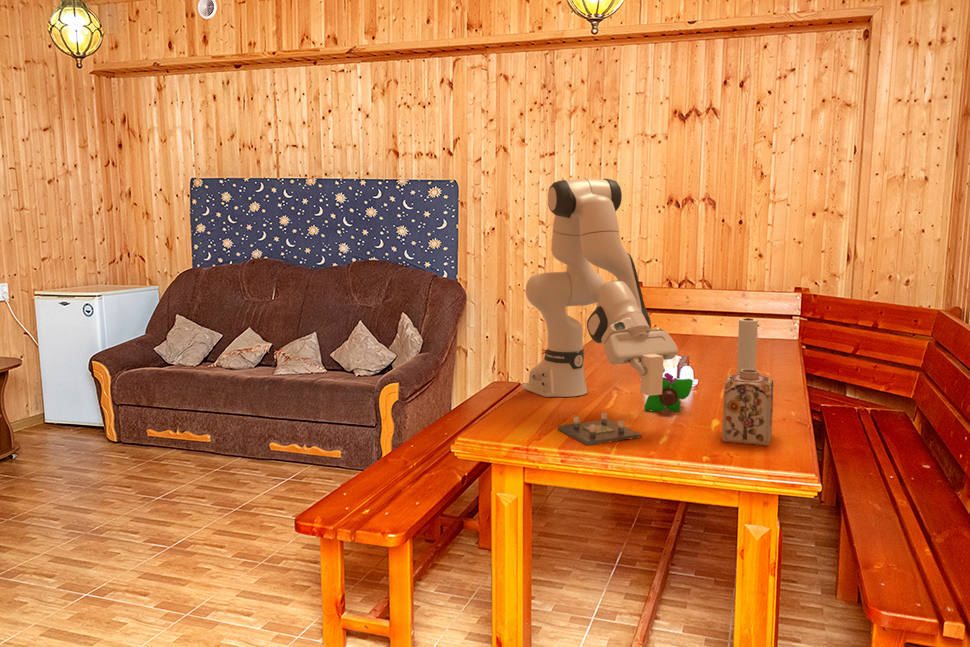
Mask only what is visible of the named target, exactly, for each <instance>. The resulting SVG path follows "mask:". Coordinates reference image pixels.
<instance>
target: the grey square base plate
mask: <svg viewBox="0 0 970 647" xmlns="http://www.w3.org/2000/svg"><path fill="white" fill-rule="evenodd" d="M600 414H601V415H600V416H601V417H600V419H598V420H593V421H591V420H590V421H585V422H580V421H581V420H580V415H575V416H573V423H569V424H561V425H557V430H559V431H560V432H562V433H564V434H565V435H567V436H569V437H570V438H573V439H574V438H575V440H576V441H578V442H580V443H582V444H583V445H585V446H593V445H594V444H595V445H600V444H599V443H602V444H605V443H604V442H609V441H615V442H617V441H616V440H622V441H624V440H623V439H629V440H631V439H630V438H636V439H639V438H638V437H641V436H642V434H641V433H639V431H638V432H637V431H635V430H633V429H631V428H629V427H626V426H625V420H621V419H620V420H619V419H618V421H617V422H615V421H614V420H612V419H609V418H608V412H601V413H600ZM641 438H642V437H641ZM609 443H610V442H609ZM595 445H594V446H595Z"/></svg>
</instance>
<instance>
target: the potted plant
mask: <svg viewBox="0 0 970 647" xmlns="http://www.w3.org/2000/svg"><path fill="white" fill-rule="evenodd" d="M693 382H694V380H693V379H692V378H691V379H690V378H684V379H681V378H680V379H678V378H676V377H674V376H673V375H672V374H670V373H668V372H666V373H663V384H662V394H661V395H652V396H648V395H647V399H646V400H645V403H644V404H645V405H644V411H646V410H652V411H651V412H654V411H661V412H662V411H664V410H665V409H667V410H668V411H671V412H680V411H681V401H680V400H686V399H687V398H688V397H689V396H690V393H691V391H692V387H693Z"/></svg>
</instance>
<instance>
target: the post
mask: <svg viewBox="0 0 970 647" xmlns="http://www.w3.org/2000/svg"><path fill="white" fill-rule="evenodd" d="M640 364H641V365H642V366H643V367H646V370H647V371H648V373H647V374H646V375H643V376H640V390H639V391H640V392H639V393H641V394H643V395H645V396H647V397H648V396H652V395H661V394H662V384H663V377H664V373H663V366H664V362H663V356H660V355H657V354H649V355H642V357H641V362H640Z"/></svg>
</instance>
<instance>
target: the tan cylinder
mask: <svg viewBox="0 0 970 647" xmlns="http://www.w3.org/2000/svg"><path fill="white" fill-rule="evenodd" d="M758 325H759V324H758V319H755V318H750V317H746V318H739V319H738V331H737V332H738V334H737V338H738V340H737V363H736V374H740V370H741V369H754V370H757V352H758V347H757V346H758Z"/></svg>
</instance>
